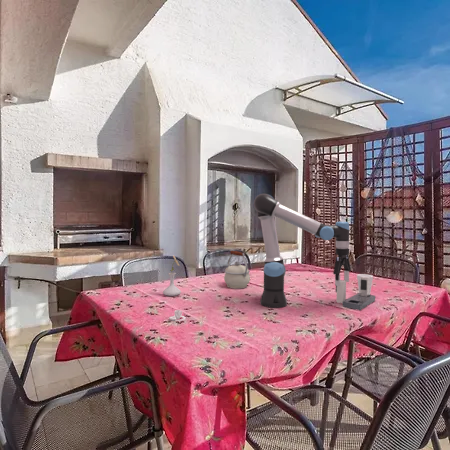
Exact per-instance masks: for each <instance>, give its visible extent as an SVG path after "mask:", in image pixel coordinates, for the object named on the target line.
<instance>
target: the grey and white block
mask: <svg viewBox="0 0 450 450" xmlns="http://www.w3.org/2000/svg"><path fill="white" fill-rule="evenodd" d="M369 285H370V278H369V277H361V285H360V293H359V292H358V293H355V294H354V295H352V296H350V297H348V298H346V300H345V301H343V304H342V307H343V308H346V307H347V309H351V308H352V309H353V310H356V309H357V311H362V310H363V309H365V308H367V307H368V306H369V305H371V304H372V303H374V302H375V301H376V295H374V294H370V295H369ZM367 305H368V306H367Z"/></svg>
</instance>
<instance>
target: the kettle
mask: <svg viewBox="0 0 450 450" xmlns="http://www.w3.org/2000/svg"><path fill="white" fill-rule="evenodd" d="M229 253H230V256H229V258H228V260H227V267H226V268H225V270H224V276H223V279H224V282H225V284H226V287H227V288H230V289H235V290H237V289H245V288H247V287H248V285H249V283H250V281H251V277H250V270H249V269H248V264H247V261H246V259H245V256H246V255H245V252H241V251H236V250H235V251H234V250H230V252H229ZM233 255H235V256H238V257H239V256H240V257H242V261H243V263H244V265H242V264H241V263H240V262H239V261H238V260H237V261H235V262H234V264H232V265H230V261H231V260H232V257H233Z"/></svg>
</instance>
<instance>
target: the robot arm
mask: <svg viewBox="0 0 450 450" xmlns="http://www.w3.org/2000/svg"><path fill="white" fill-rule="evenodd" d="M253 206H254V209H255V211H256V215H257V218H258V219H259V220H260V226H261V231H262V237H263V238H262V239H263V244H264V250H265V257H266V258H265V259H264V265H263V266H264V267H263V292H262V294H261V298H260V299H259V300H260V303H259V304H260V305H261V306H263V307H267V308H276V309H277V308H278V309H280V308H284V307H286V306H287V305H288V303H287V297H286V294H285V276H286V272H287V271H286V266H285V263H284V262H285V261H284V257H282V256H281V251H280V245H279V238H278V233H277V225H276V219H275V218H277V219H279V220H282V221H284V222H287V223H289V224H290V225H292V226H295V227H297V228H299V229H301V230H304V231H306V232H308V233H310V234H312V235H314V236H315V238H319V239H321V240H324V241H330V240H332V239H334V238H335V255H337V256H336V257H335V262H334V268H333V275H334V285H335V287H336V286H340V280H341V270H342V267H343V269H344V271H343V280H344V281H346V283H349V282H350V272H351V271H352V269H351V264H350V257H349V255H350V244H351V243H350V223H349V222H348V221H336V222H335V224H334V225H333V224H330V225H329V224H324V223H321V222H319V221H317V220H316V219H313V218H312V217H309V216H307V215H304V214H303V213H300V212H298V211H296V210H294V209H291V208H290V207H287V206H285V205H283V204H281V203H280V201H278V200H277V199H275V198H274V197H273V196H272V195H271V194H268V193H260V194H258V195H257V196H255V199H254V200H253Z"/></svg>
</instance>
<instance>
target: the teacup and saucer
mask: <svg viewBox="0 0 450 450" xmlns="http://www.w3.org/2000/svg"><path fill="white" fill-rule="evenodd" d="M173 313H174V315H173V316H169V317H168V320H170V321H174V322H177V321H178V322H180V321H184V320H186V318H187V317H186V316H184V315H183V311H182V310H181V309H176V310H174V312H173ZM180 318H182V319H180Z"/></svg>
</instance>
